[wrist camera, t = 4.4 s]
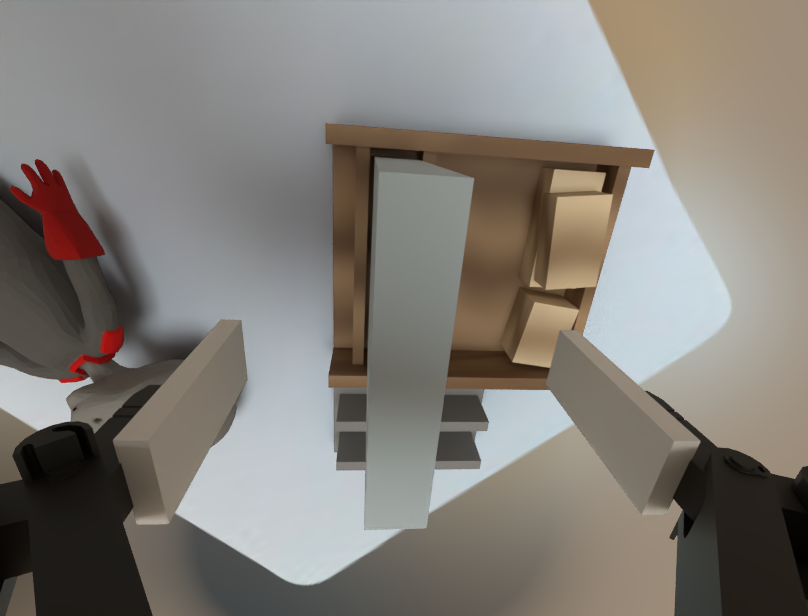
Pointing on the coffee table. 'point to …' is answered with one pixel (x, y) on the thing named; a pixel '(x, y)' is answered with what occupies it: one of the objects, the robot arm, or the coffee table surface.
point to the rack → (484, 248)
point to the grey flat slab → (410, 331)
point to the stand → (454, 436)
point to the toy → (65, 306)
